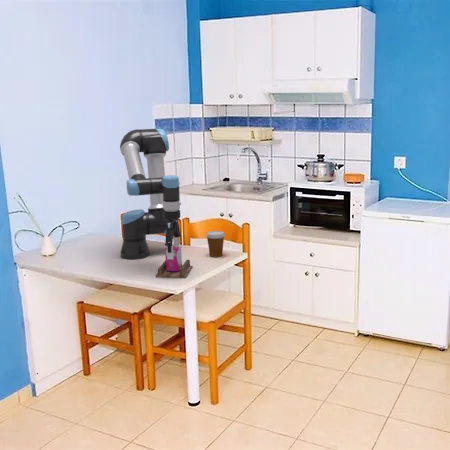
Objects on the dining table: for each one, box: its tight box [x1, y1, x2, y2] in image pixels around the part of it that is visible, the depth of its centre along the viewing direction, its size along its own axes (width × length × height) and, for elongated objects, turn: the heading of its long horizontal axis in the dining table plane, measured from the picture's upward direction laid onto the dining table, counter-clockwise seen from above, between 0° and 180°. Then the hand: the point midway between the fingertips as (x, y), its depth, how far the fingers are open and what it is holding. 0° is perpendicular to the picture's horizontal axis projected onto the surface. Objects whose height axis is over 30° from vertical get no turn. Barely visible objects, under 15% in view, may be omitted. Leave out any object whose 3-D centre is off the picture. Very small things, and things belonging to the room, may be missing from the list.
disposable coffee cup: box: [205, 230, 226, 258], centre depth 287 cm, size 10×10×12 cm
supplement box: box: [164, 244, 183, 273], centre depth 260 cm, size 6×6×12 cm
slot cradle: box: [155, 259, 194, 279], centre depth 261 cm, size 14×16×4 cm
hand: (173, 254), depth 260 cm, fingers open, 13 cm apart
